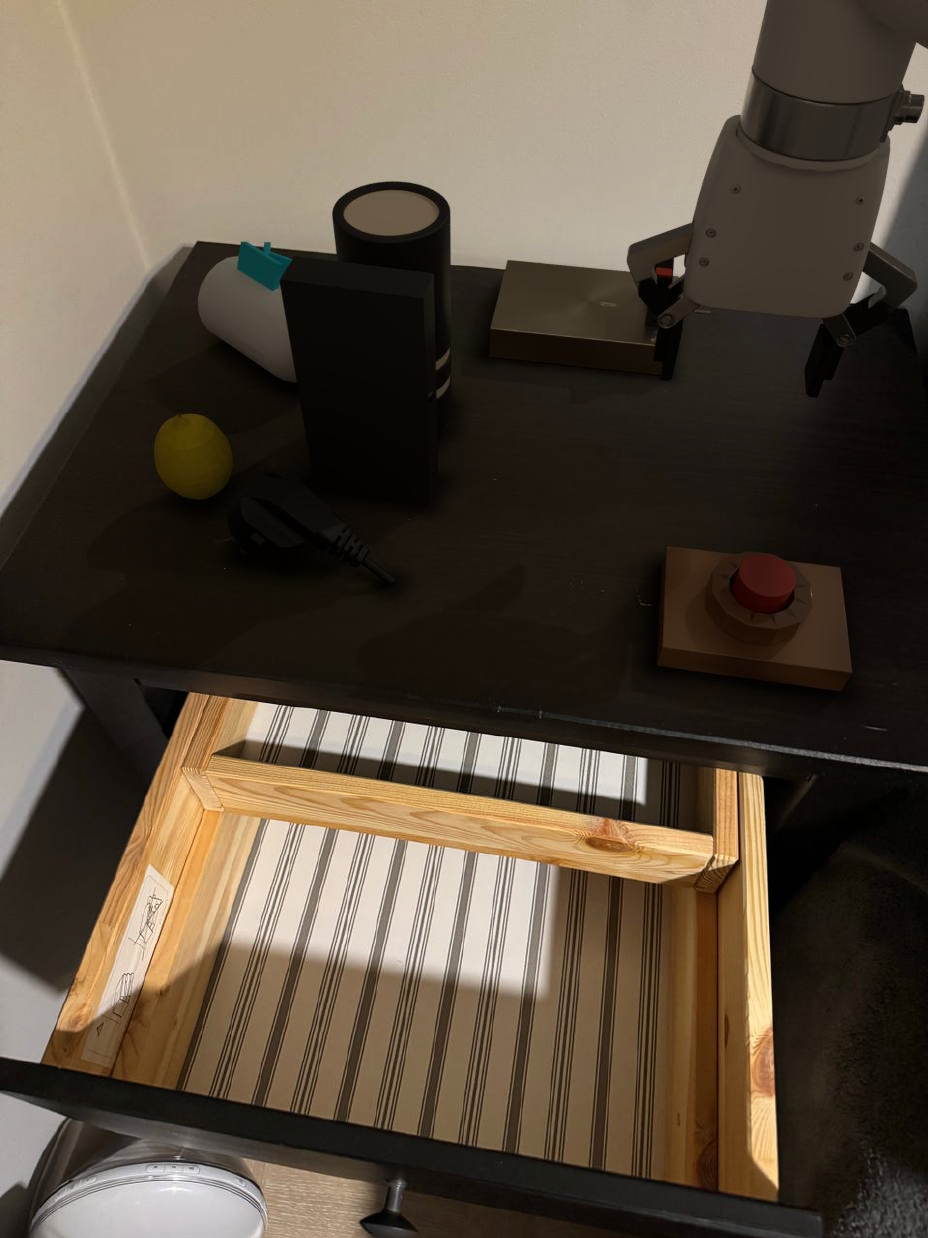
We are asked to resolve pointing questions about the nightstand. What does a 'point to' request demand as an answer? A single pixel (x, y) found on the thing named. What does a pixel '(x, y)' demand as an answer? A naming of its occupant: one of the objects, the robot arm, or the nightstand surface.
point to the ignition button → (763, 583)
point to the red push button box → (751, 623)
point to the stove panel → (573, 318)
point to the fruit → (193, 456)
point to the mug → (250, 307)
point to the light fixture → (376, 343)
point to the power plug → (292, 523)
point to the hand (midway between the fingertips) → (737, 376)
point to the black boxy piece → (666, 275)
